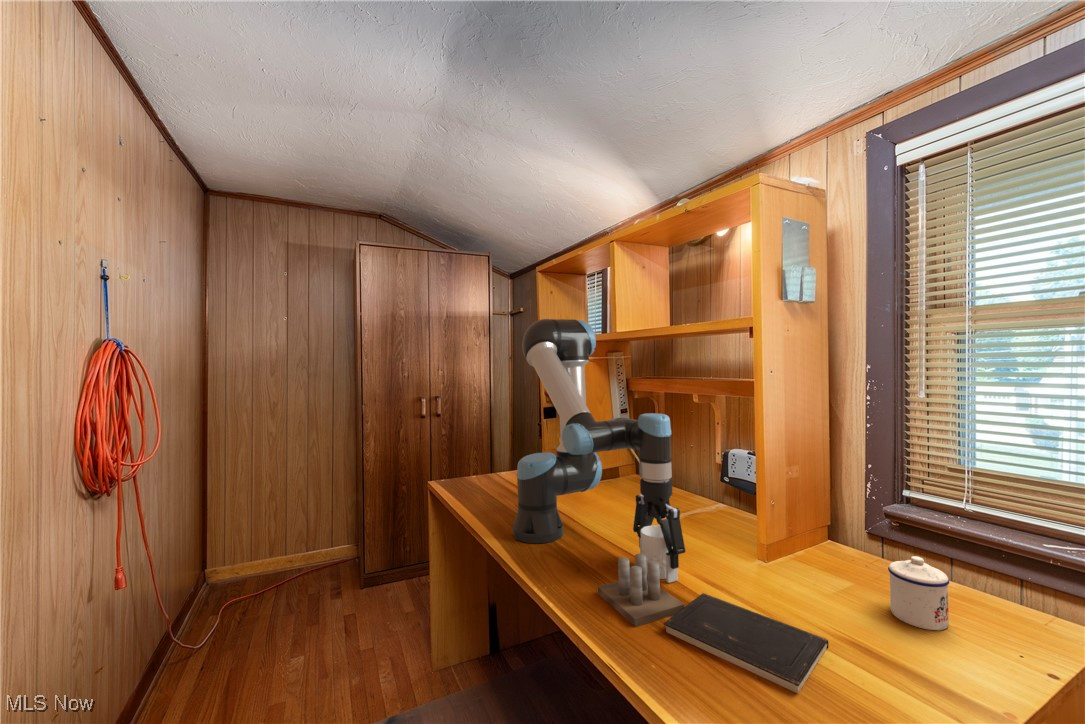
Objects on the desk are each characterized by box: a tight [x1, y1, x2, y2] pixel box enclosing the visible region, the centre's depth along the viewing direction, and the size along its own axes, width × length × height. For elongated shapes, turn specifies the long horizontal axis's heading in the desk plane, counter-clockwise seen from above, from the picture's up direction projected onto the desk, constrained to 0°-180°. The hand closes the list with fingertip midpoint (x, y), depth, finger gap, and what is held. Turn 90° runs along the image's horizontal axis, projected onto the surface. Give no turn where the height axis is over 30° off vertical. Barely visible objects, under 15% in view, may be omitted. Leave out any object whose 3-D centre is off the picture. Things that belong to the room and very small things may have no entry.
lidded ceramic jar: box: [887, 555, 950, 631], centre depth 88 cm, size 12×9×12 cm
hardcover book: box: [663, 592, 829, 694], centre depth 82 cm, size 16×23×2 cm
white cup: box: [640, 524, 673, 580], centre depth 108 cm, size 8×8×10 cm
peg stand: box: [597, 553, 685, 628], centre depth 95 cm, size 14×12×8 cm
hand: (658, 571), depth 108 cm, fingers open, 9 cm apart
